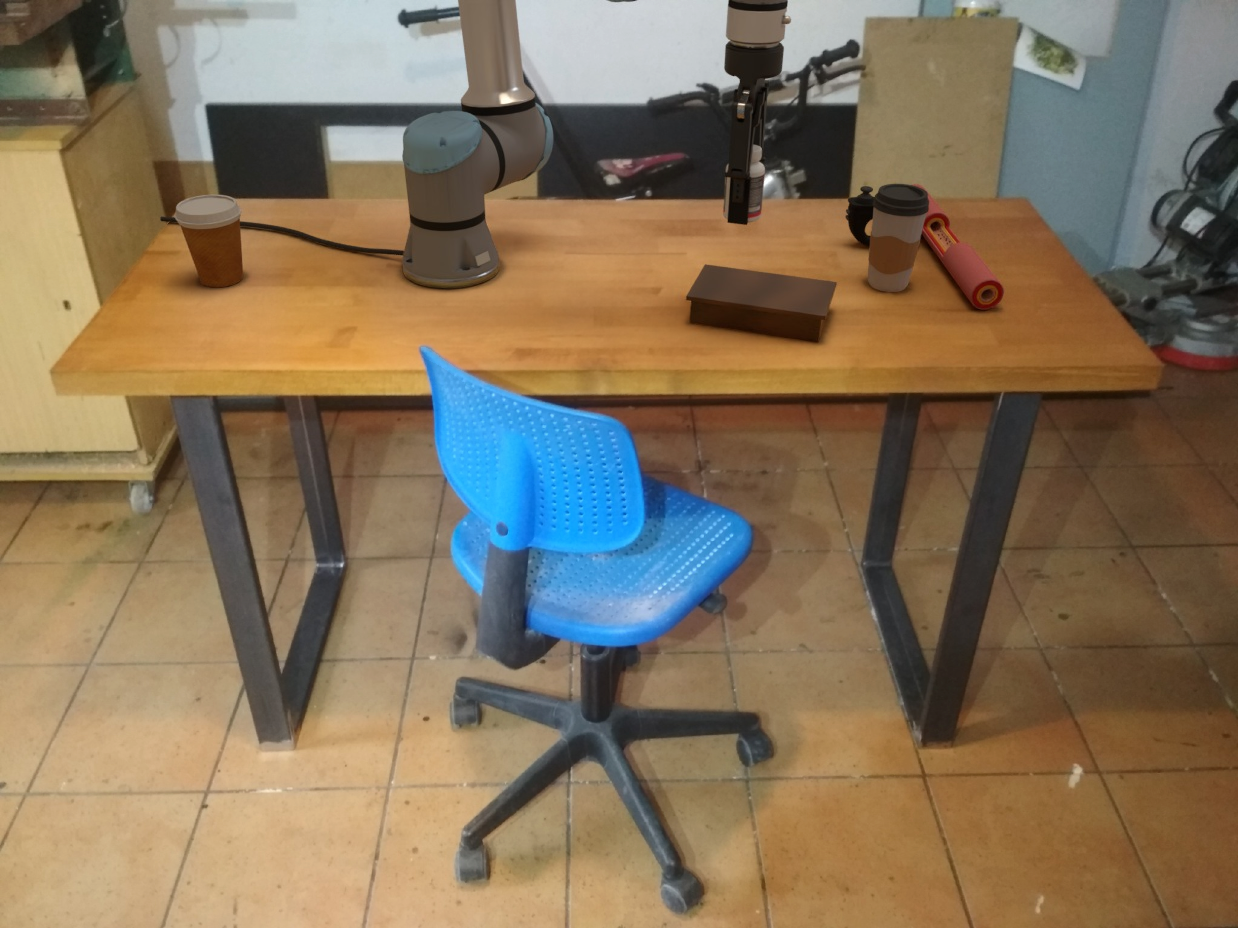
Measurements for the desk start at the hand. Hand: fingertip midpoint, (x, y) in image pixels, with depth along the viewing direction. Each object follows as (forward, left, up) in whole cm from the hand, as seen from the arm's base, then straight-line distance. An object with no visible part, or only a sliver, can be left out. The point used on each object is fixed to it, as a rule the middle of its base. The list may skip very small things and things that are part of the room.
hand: (742, 215), depth 149 cm
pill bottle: (0, 0, -1) cm, 1 cm away
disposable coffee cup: (-78, -14, -15) cm, 81 cm away
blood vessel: (+29, +33, -15) cm, 47 cm away
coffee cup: (+21, +18, -15) cm, 32 cm away
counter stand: (+4, 0, -15) cm, 16 cm away
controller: (+18, +34, -15) cm, 42 cm away
